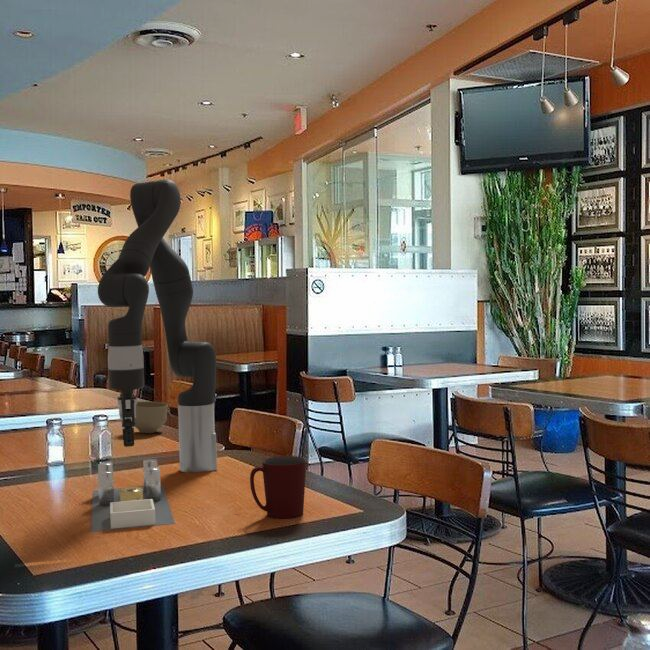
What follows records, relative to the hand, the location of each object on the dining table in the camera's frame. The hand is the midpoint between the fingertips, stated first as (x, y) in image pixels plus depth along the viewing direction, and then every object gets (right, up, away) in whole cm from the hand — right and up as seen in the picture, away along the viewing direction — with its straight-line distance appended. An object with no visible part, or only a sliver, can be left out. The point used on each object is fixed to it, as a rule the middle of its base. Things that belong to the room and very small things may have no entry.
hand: (128, 443), depth 175 cm
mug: (+33, -14, -9) cm, 37 cm away
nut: (+2, -13, -4) cm, 14 cm away
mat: (+1, -14, -1) cm, 14 cm away
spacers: (-1, -13, +6) cm, 14 cm away
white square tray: (+4, -14, -13) cm, 19 cm away
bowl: (-16, -10, +94) cm, 95 cm away
